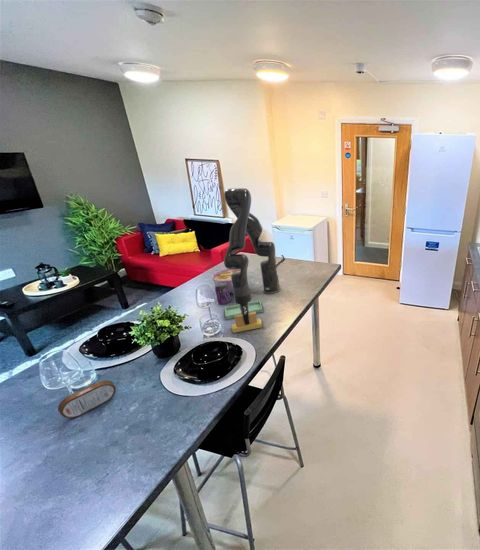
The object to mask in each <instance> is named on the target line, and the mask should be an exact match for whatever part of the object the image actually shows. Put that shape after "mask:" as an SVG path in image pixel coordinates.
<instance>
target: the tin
mask: <svg viewBox="0 0 480 550" xmlns="http://www.w3.org/2000/svg"><path fill="white" fill-rule="evenodd" d="M116 392H117V388H116V385H115V383H113V382H112V381H111V380H108V379H107V380H100V381H97V382H94V383H93V384H90V385H88V386H86V387H84V388H81V389H80V390H78V391H76V392H73V393H71V394H68V395H66V397H64V398H63V399H62V400H61V401H60V402H59V404H58V406H57V411H58V413H59V414H60V416H62V417H63V418H66V419H72V418H73V419H75V418H77V417H80V416H82V415H84V414H86V413H87V412H90V411H91V410H94V409H95V408H97V407H99V406H101V405H103V404H105V403H107V402H109V401H110V400H111V399H112V398H113V397H114V396H115V394H116Z"/></svg>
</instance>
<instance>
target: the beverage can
mask: <svg viewBox="0 0 480 550" xmlns="http://www.w3.org/2000/svg"><path fill="white" fill-rule="evenodd" d="M214 292H215V296H216V301H217V304H220V305H225V304H228V303H229V302H231V295H230V294H231V293H229V289H228V285H227V284H226V282H219V283H216V284H215V283H214Z"/></svg>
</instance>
